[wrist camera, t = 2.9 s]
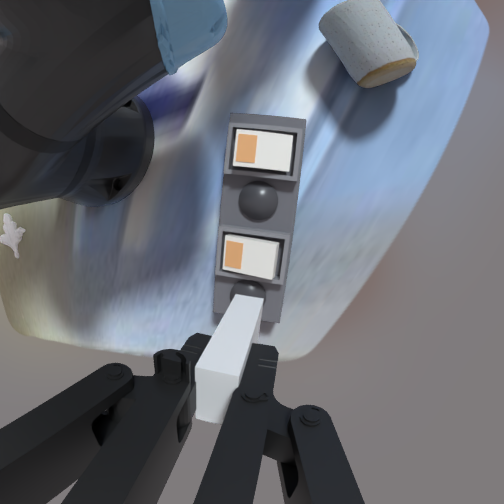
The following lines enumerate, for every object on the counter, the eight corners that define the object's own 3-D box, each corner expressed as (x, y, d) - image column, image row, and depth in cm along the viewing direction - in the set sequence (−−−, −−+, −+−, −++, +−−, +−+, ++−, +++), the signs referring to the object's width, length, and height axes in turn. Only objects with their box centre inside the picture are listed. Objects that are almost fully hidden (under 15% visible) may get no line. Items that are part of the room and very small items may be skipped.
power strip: (221, 299, 33) (210, 316, 29) (237, 120, 28) (227, 110, 23) (281, 308, 32) (278, 328, 28) (305, 126, 27) (306, 116, 23)
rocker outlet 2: (226, 266, 28) (222, 269, 27) (229, 233, 27) (224, 235, 26) (274, 276, 26) (271, 280, 25) (279, 242, 26) (276, 244, 25)
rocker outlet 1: (233, 165, 25) (232, 165, 23) (237, 130, 24) (236, 128, 23) (287, 171, 25) (289, 171, 24) (291, 136, 24) (293, 135, 23)
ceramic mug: (353, 98, 25) (371, 74, 18) (314, 39, 24) (319, 3, 17) (426, 73, 23) (457, 50, 16) (389, 18, 22) (408, -14, 14)
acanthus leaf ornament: (4, 239, 39) (-3, 241, 37) (9, 208, 37) (1, 209, 35) (22, 261, 39) (15, 264, 37) (27, 229, 37) (20, 231, 35)
